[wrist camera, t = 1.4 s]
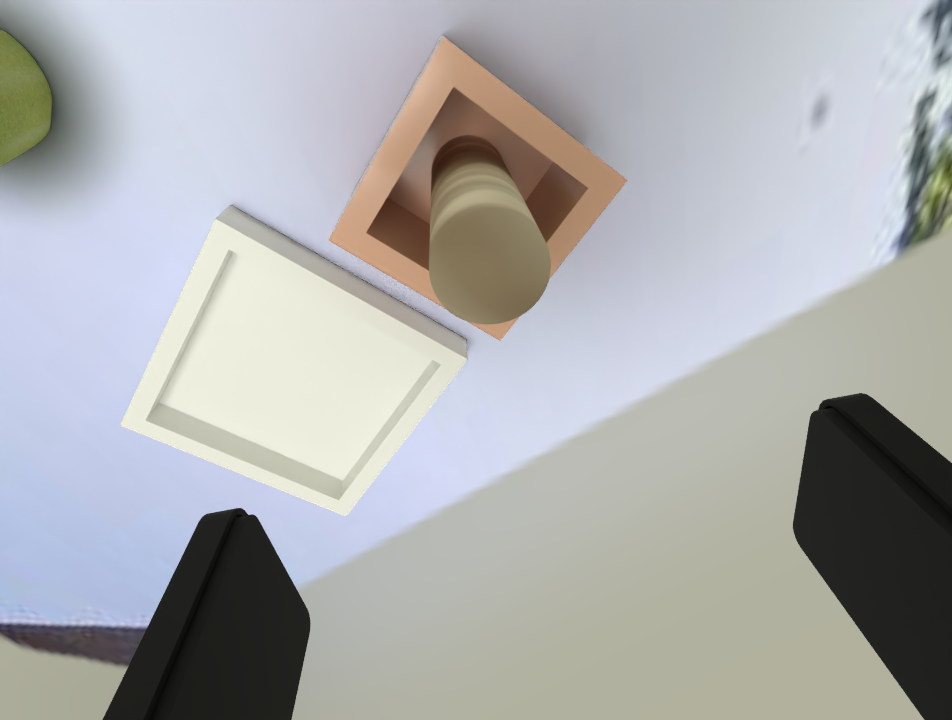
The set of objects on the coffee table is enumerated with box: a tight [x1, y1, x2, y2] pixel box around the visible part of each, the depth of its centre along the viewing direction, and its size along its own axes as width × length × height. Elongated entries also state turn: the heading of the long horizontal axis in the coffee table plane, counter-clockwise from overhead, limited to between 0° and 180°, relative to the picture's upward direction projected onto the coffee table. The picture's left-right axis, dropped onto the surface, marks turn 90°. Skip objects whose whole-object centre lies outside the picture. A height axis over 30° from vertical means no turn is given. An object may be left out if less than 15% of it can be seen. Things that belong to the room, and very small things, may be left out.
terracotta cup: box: [329, 35, 627, 340], centre depth 27 cm, size 9×9×8 cm
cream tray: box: [120, 205, 468, 516], centre depth 36 cm, size 16×16×3 cm
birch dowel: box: [429, 135, 551, 325], centre depth 24 cm, size 4×4×14 cm
